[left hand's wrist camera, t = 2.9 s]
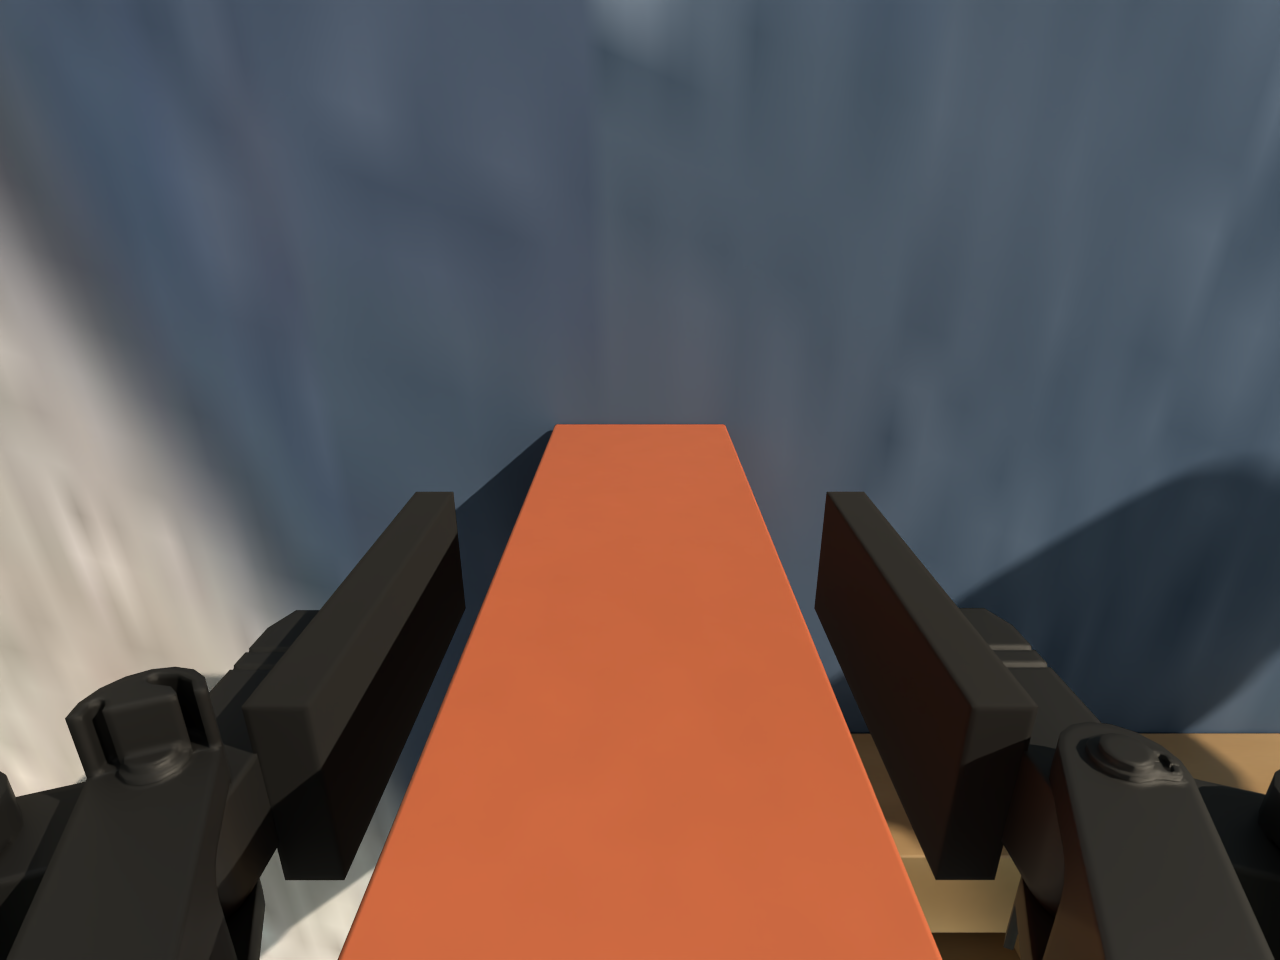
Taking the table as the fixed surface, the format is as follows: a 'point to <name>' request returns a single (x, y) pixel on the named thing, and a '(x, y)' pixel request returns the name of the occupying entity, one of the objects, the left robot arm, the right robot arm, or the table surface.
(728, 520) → the peg
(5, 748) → the table surface
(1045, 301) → the table surface
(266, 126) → the table surface
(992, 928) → the board
